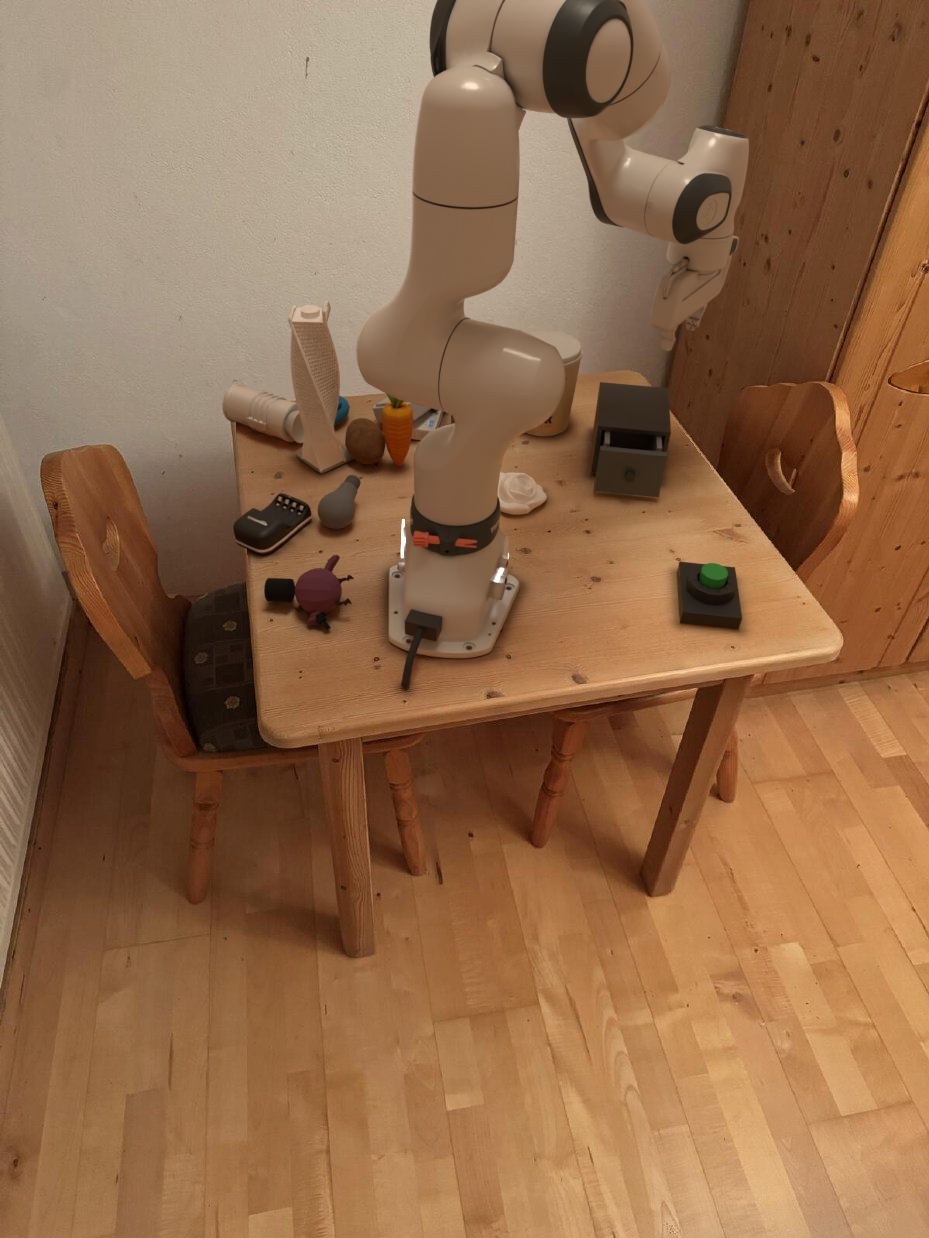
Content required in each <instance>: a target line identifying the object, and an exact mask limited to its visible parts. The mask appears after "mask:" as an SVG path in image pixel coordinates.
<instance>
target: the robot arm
mask: <svg viewBox="0 0 929 1238" xmlns="http://www.w3.org/2000/svg"><path fill="white" fill-rule="evenodd" d="M428 42H429V53H430V56H429V57H430V67H431V73H432V76H433V77H432V78H431V79H430V81H429V82H428V83H427V85H426V86H425V88H424V91H423V93H422V96H421V98H420V106H419V111H418V117H417V123H416V130H415V137H414V148H413V158H412V175H411V176H412V179H411V181H412V183H411V197H412V198H411V199H412V200H411V201H412V202H411V231H410V232H411V234H410V249H409V251H410V252H409V259H408V265H407V270H406V273H405V276H404V279H403V281H402V283H401V285H400V287H399V289H398V290H397V291H396V293H395V295H394V296H393V297H392V298H391V299H389V301H388V302H387V303H385V304H384V305H381V307H378V308H377V309H376V310H375V311H373V312H372V313H371V314H370V315H369V317H367V319H366V320H365V321H364V323H363V325H362V327H361V328H360V331H359V334H358V337H357V341H356V351H355V352H356V362H357V366H358V369H359V372H360V375H361V376H362V378H363V380H364V382H365V383H366V384H367V385H369V386H371V387H373V388H375V389H377V390H378V391H381V392H383V393H384V394H386V395H387V394H388V395H390V396H392V397H394V398H397V399H399V400H402V401H406V402H410V403H414V404H417V405H421V406H425V407H429V408H433V409H437V410H441V411H444V413H446V414H449V415H450V416H451V415H452V416H453V418H454V420H455V423H452V424H451V423H449V424H446V425H445V424H444V425H442V426H439V428H437V429H435V430H433V431H431V432H430V433H428V434H427V435H426V436H425V437H424V438H423V439H422V440H419V442H418V444H417V446H416V449H415V451H414V454H413V495H412V497H411V501H410V508H409V509H410V510H409V521H410V522H409V523H407V524H405V519H404V518H403V519H401V540H400V542H401V544H400V558H401V559H403V561H399V562H398V563H397V564H394V565H392V566H391V567H390V568H389V570H388V633H387V634H388V641H389V642H390V644H392V645H394V646H395V647H397V648H400V649H402V650H404V651H406V652H407V654H406V659H405V663H404V666H403V672H402V677H401V683H400V686H401V687H402V688H403V689H407V688H409V686H410V681H411V676H412V671H413V666H414V662H415V658H416V656H417V655H423V656H427V657H434V658H442V659H443V658H445V659H468V658H469V659H471V658H476V657H481V656H484V655H488V654H489V653H491V652H492V650H493V649H494V646H495V645H496V641H497V640H498V638H499V635H500V633H501V631H502V628H503V626H504V625H505V622H506V621H507V617H508V616H509V613H510V612H511V610H512V607H513V604H514V602H515V599H516V598H517V595H518V593H519V591H520V581H519V580H518V579H517V578H516V577H515V576H514V575H512V574H510V573H509V571H508V570H509V557H510V553H509V546H510V539H509V537H508V536H507V534H505V533H504V532H503V531H502V529H501V528H500V521H501V516H502V515H501V513H502V512H501V509H500V500H499V498H498V485H499V477H500V472H501V469H502V465H503V464H502V463H503V459H504V457H505V453H506V452H507V450H508V449H509V447H510V445H511V444H512V443H514V442H515V440H516V439H517V438H519V437H520V436H521V435H522V434H524V433H525V432H526V431H528V430H531V429H533V428H536V427H538V426H539V425H541V424H542V423H544V422H545V421H546V420H547V419H548V418H550V417H551V415H552V414H553V413H554V412H555V410H556V409H557V407H558V406H559V404H560V402H561V399H562V397H563V393H564V389H565V381H566V379H565V368H564V364H563V361H562V358H561V356H560V354H559V352H558V350H557V348H556V347H555V346H553V345H551V344H549V343H547V342H545V341H543V340H541V339H539V338H536V337H534V336H532V335H530V334H527V333H528V332H526V331H523V330H520V329H516V328H511V327H507V326H502V325H499V324H494V323H489V322H485V321H481V320H477V319H472V318H470V317H467V316H466V314H465V299H470V298H472V297H476V296H479V295H482V294H483V293H486V292H489V291H491V290H492V289H495V288H496V287H497V286H498V285H500V284H502V282H503V281H504V280H506V278H507V277H508V275H509V273H510V271H511V269H512V266H513V265H514V260H515V248H516V247H515V246H516V235H517V219H518V208H519V207H518V206H519V192H520V168H521V167H520V163H521V162H520V161H521V160H520V159H521V158H520V157H521V156H520V155H521V153H520V152H521V151H520V128H521V126H522V122H523V120H524V118H525V116H526V114H527V111H529V112H530V111H531V112H537V113H542V114H543V113H544V114H556V115H558V116H559V117H561V118H564V119H566V121H567V124H568V128H569V131H570V135H571V137H572V140H573V143H574V146H575V149H576V152H577V154H578V157H579V160H580V162H581V166H582V168H583V170H584V173H585V174H584V175H585V177H586V180H587V186H588V199H589V202H590V207H591V209H592V212H593V214H594V216H595V217H596V219H597V220H598V221H599V222H600V223H603V224H606V225H610V226H615V227H618V228H619V227H620V228H626V229H628V230H631V231H634V232H637V233H640V234H643V235H647V236H649V237H652V238H657V239H660V240H663V241H665V242H668V244H667V245H668V246H667V251H666V260H667V261H668V262H669V263H670V264H672V265H671V266H669V270H668V271H666V272H665V273H663V274H662V275H661V277H660V279H659V281H658V283H657V286H656V289H655V293H654V297H653V302H652V306H651V309H650V310H651V311H650V313H649V325H650V326H651V328H654V329H657V330H660V331H659V332H660V336H661V340H660V345H659V346H660V349H661V350H662V351H666V352H671V351H672V350H673V349H675V347H676V342H677V337H676V335H675V334H676V331H677V329H678V327H679V326H680V325H681V324H682V323H684V322H685V321H686V323H685V327H684V328H685V329H686V330H687V331H691V332H694V331H696V330H697V329H699V328H700V326H701V320H702V317H703V315H704V313H705V311H706V309H707V307H708V304H709V302H710V301H711V300H713V299H714V298H716V297H717V296H718V295H719V294H720V293H721V291H722V289H723V287H724V285H725V283H726V280H727V275H728V273H729V269H730V265H731V262H732V258H733V254H734V253H736V251H737V249H738V247H739V244H740V243H739V242H740V237H739V236H736V235H734V232H735V215H736V212H737V209H738V208H739V206H740V204H741V201H742V197H743V193H744V188H745V184H746V177H747V171H748V166H749V155H750V140H749V137H747V136H746V135H745V134H744V133H742V132H741V131H737V130H733V129H729V128H725V127H720V126H716V125H707V124H705V125H701V126H698V127H696V128H695V130H694V131H693V134H692V137H691V140H690V143H689V145H688V149H687V153H685V154H684V155H683V156H682V157H680V158H679V159H677V161H676V160H672V159H669V158H665V157H661V156H657V155H654V154H651V153H647V152H644V151H640V150H638V149H635V148H633V147H631V146H628V145H627V144H626V143H625V142H624V140H626V139H628V138H631V137H633V136H634V135H636V134H638V133H640V132H641V131H642V130H643V129H645V128H646V127H647V126H648V125H649V124H650V123H651V122H652V121H653V120H654V119H655V118H656V117H657V115H658V114H659V112H660V111H661V109H662V107H663V106H664V104H665V101H666V99H667V96H668V94H669V90H670V88H671V83H672V82H671V79H672V73H671V64H670V58H669V54H668V51H667V48H666V45H665V43H664V41H663V37H662V35H661V32H660V29H659V28H658V25H657V22H656V20H655V17H654V15H653V13H652V11H651V9H650V7H649V5H648V3H647V1H646V0H436V2H435V5H434V7H433V11H432V15H431V19H430V28H429V41H428Z"/></svg>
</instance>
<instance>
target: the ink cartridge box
mask: <svg viewBox="0 0 929 1238" xmlns="http://www.w3.org/2000/svg"><path fill="white" fill-rule="evenodd" d="M444 413H445V412H444V411H441V410H437V409H433V408H431V409H430V410H429V411H427V412H426V413H425V414H423V415H422V416H420V417H419V418H418V419H416V420H415V421H413V424H412V437H411V440H415V441H416V440H417V441H421V440H422V439H423V438H424V437H425V436H426V435H427V434H428V433H430V432H431V431H433V430H435V429H437V428H440V425H441V422H442V419H443V416H444ZM381 431H382V432H383V428H381ZM383 435H384V434H383Z"/></svg>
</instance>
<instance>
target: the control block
mask: <svg viewBox="0 0 929 1238" xmlns="http://www.w3.org/2000/svg"><path fill="white" fill-rule="evenodd" d="M705 564H706V563H697V562H690V561H689V562H688V561H679V562H678V565H677V569H676V584H677V601H678V614H679V615H678V616H679V624H681V625H682V624H683V625H692V626H701V627H709V628H719V629H728V630H737V631H739V629H740V626H741V623H742V621H743V615H742V607H741V599H740V592H739V587H738V586H739V585H738V579H737V572H736V567H735V566H728V565H727V566H726V565H722V566H723V567H725V568H726V569H727V571H728V576H727V579H726V583H725V585H724V586H723V587H722V588H720V589H711V588H708V587H705V586H703V585H702V584H701V583H700V581H699V576H700V573H701V569H702V567H703V566H704V565H705Z"/></svg>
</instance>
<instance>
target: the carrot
mask: <svg viewBox="0 0 929 1238" xmlns="http://www.w3.org/2000/svg"><path fill="white" fill-rule="evenodd" d="M387 396H388V398H389V400H390V402H391V403H387V404H386V405H385V407H384V409H383V410H382V422H381V423H382V424H381V425H382V429H383V434H384V439H385V448H386V451H387V452H388V454H389V456H390V459H391V460H392V461H393V463H394V465H395V466H396V467H400V466H402V465H403V463H404V461H405V459H406V458H407V455H408V453H409V450H410V447H411V443H412V439H411V437H412V424H413V411H412V408H411V407H409V406H408V405H407V404H406V403H405V402H404V401H402V400H399V399H397V398H394V397H392V396H390V395H388V394H386V397H387Z"/></svg>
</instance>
